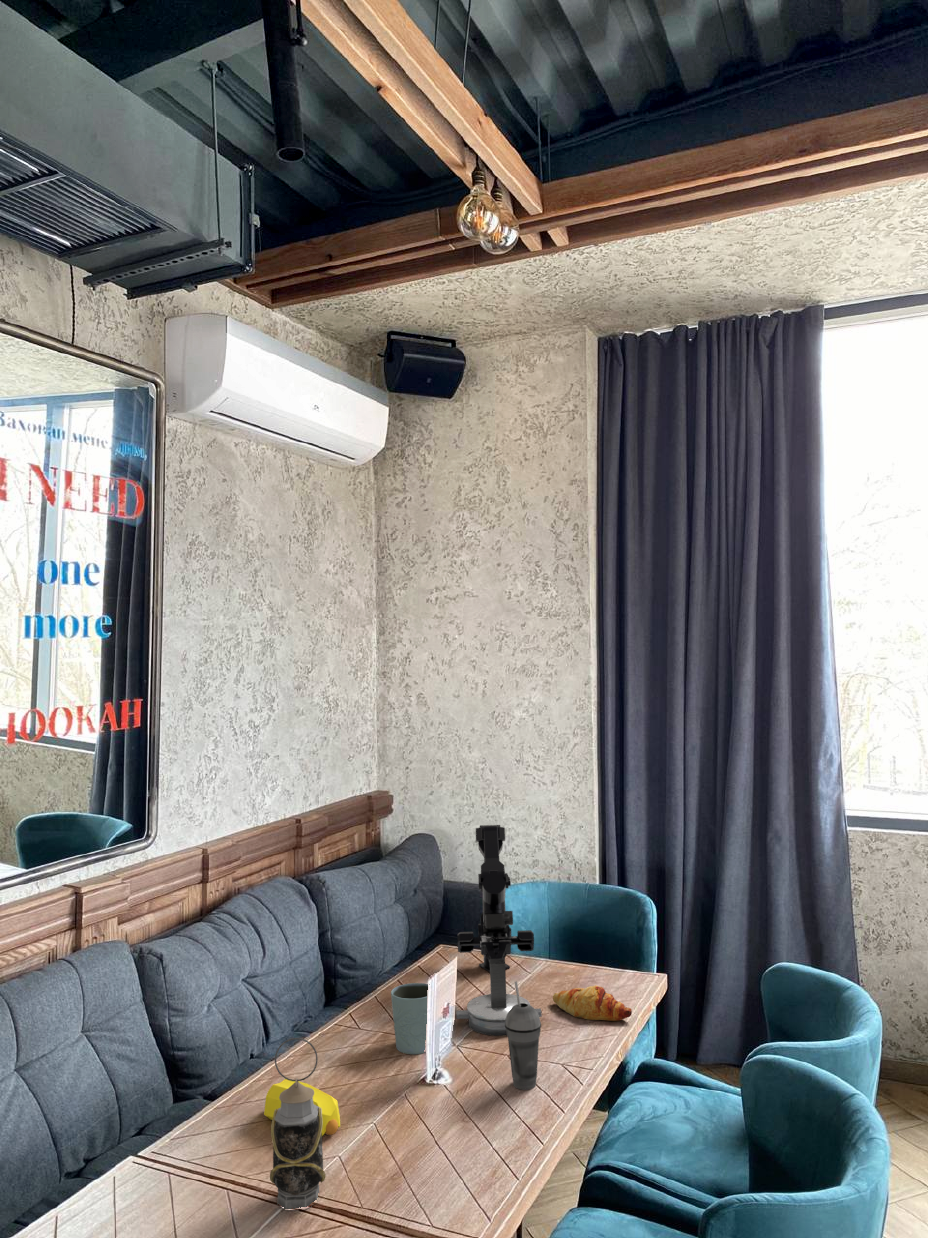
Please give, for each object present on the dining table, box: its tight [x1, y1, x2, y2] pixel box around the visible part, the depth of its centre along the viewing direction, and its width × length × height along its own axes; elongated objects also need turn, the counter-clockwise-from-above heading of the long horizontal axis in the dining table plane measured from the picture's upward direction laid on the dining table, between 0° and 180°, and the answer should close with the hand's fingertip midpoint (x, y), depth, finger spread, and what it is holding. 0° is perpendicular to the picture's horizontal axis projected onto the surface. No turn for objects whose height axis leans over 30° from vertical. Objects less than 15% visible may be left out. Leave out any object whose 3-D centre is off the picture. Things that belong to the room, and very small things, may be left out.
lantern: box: [269, 1037, 326, 1210], centre depth 146 cm, size 9×8×25 cm
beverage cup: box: [505, 980, 542, 1091], centre depth 183 cm, size 7×7×20 cm
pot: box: [455, 1008, 543, 1037], centre depth 213 cm, size 14×20×3 cm
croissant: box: [552, 984, 633, 1022], centre depth 218 cm, size 21×10×8 cm, turn 53°
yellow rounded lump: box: [263, 1078, 341, 1137], centre depth 170 cm, size 18×7×8 cm
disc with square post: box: [466, 958, 531, 1021], centre depth 214 cm, size 15×15×11 cm
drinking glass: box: [390, 982, 429, 1055], centre depth 202 cm, size 10×10×12 cm
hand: (497, 975), depth 221 cm, fingers closed
